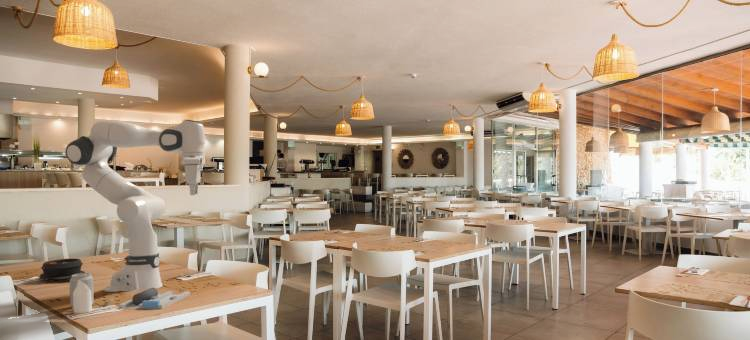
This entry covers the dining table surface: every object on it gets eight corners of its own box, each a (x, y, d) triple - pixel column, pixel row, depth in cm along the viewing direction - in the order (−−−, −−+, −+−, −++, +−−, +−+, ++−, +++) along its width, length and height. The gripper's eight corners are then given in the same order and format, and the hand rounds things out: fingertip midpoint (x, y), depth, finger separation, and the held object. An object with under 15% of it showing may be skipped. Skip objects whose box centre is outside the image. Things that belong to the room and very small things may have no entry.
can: (76, 304, 192) (75, 272, 192) (97, 303, 192) (96, 271, 192) (66, 310, 184) (65, 276, 184) (88, 309, 185) (87, 275, 185)
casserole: (29, 279, 243) (28, 262, 243) (71, 272, 258) (71, 256, 258) (52, 285, 228) (52, 266, 228) (95, 277, 243) (95, 260, 243)
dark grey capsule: (142, 305, 184) (142, 294, 184) (132, 305, 185) (132, 294, 185) (158, 298, 194) (157, 287, 194) (148, 298, 195) (147, 287, 195)
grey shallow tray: (119, 310, 181) (119, 301, 181) (151, 296, 201) (150, 288, 201) (162, 311, 179) (161, 301, 179) (189, 297, 199) (189, 288, 199)
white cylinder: (95, 278, 180) (80, 281, 175) (96, 312, 180) (81, 316, 175) (82, 277, 182) (68, 280, 177) (83, 311, 182) (69, 315, 177)
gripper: (188, 160, 216) (188, 193, 216) (182, 159, 196) (182, 195, 196) (203, 160, 217) (204, 193, 217) (199, 159, 198) (200, 195, 198)
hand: (193, 194), depth 207 cm, fingers open, 8 cm apart
